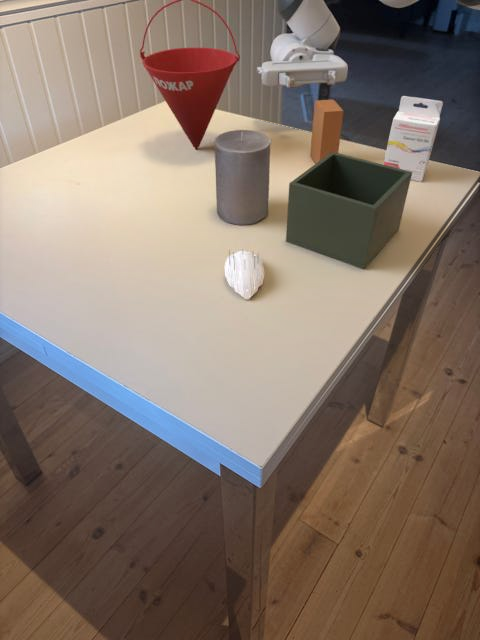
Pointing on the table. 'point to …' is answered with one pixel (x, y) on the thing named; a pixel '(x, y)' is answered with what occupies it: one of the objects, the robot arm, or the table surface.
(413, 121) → the ink cartridge box
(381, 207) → the waste bin
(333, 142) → the orange rectangular block
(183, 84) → the fire bucket
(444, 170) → the table surface
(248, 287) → the pincushion
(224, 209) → the pillar candle
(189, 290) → the table surface
